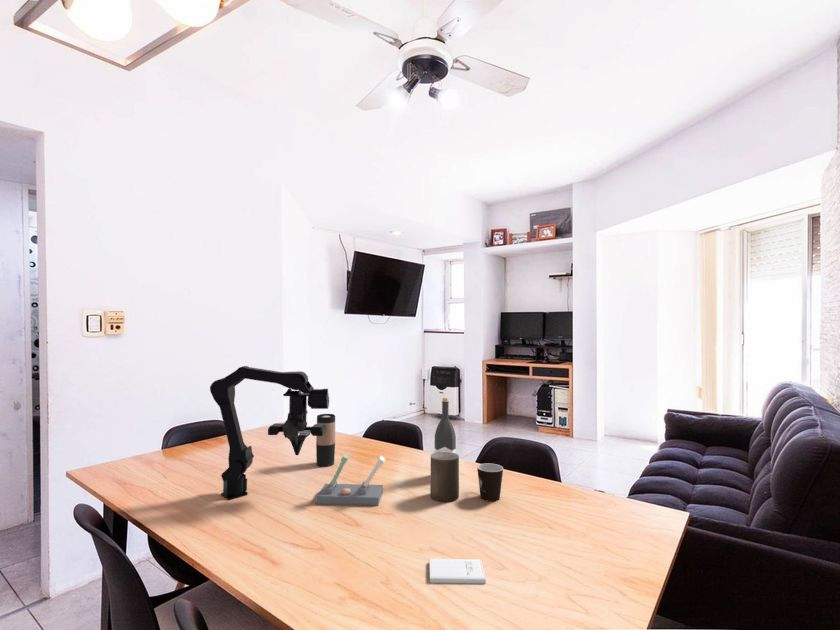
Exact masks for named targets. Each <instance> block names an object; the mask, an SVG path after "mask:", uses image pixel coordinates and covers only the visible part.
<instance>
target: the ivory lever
mask: <svg viewBox="0 0 840 630" xmlns="http://www.w3.org/2000/svg"><path fill="white" fill-rule="evenodd" d="M385 461H386V458H385V457H384V456H382V455H380V456H379V458H378V459H377V462H376V464H375V466H374V468H373V469H372V470H371V472H370V473H369V475H368V476H367V478H366V479H365V481H363V482H362V483H361V484H362V486H361V488H366V489H367V487H368V484H369V485H370V483H371V481H372V480H373V477H375V476H376V473H377V471H378V470H379V468H380V467H381V466H383V464H384V462H385Z"/></svg>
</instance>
